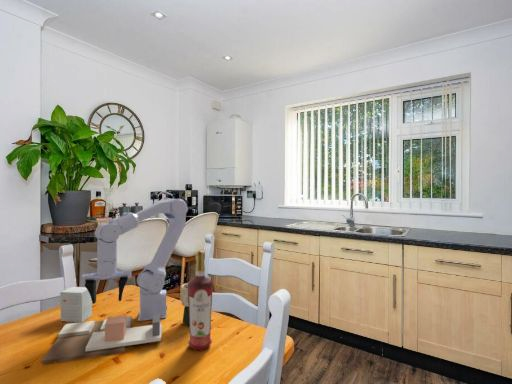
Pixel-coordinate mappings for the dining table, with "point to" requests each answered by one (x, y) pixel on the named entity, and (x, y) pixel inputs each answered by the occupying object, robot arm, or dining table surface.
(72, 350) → the board
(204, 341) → the liquor
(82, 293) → the small box
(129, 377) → the dining table surface
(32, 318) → the dining table surface
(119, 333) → the block
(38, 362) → the dining table surface
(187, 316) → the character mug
